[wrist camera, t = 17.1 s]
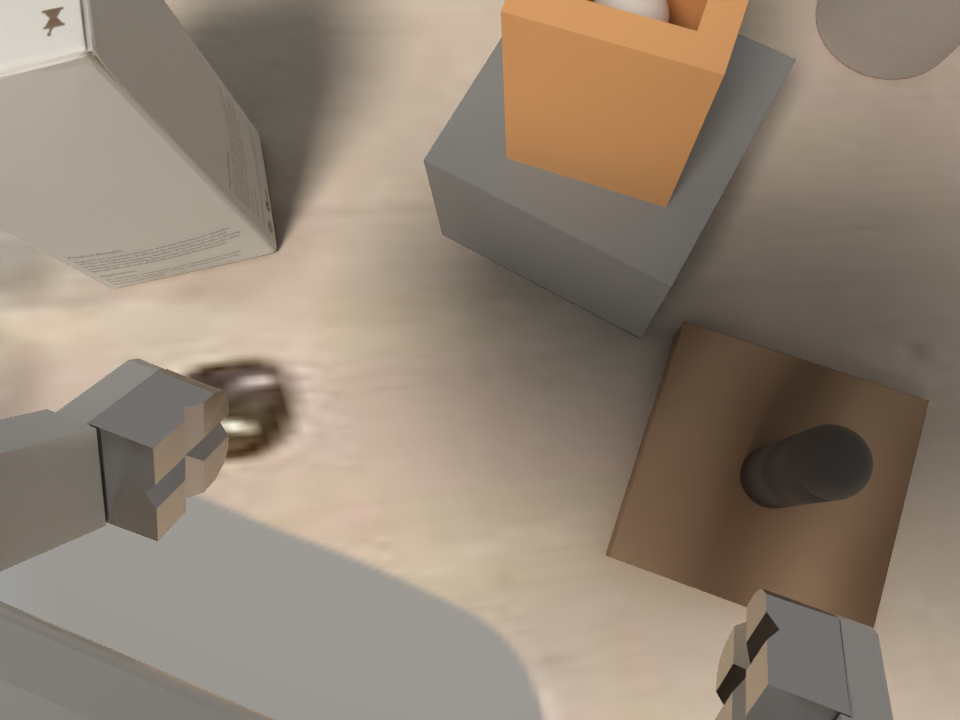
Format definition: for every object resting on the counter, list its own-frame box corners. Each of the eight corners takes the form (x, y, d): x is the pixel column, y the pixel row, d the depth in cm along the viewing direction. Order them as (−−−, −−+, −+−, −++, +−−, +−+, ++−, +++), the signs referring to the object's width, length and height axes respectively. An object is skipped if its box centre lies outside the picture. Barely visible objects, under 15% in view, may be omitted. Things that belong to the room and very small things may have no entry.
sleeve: (714, 64, 29) (787, -115, 21) (666, 207, 27) (724, 74, 20) (559, 20, 29) (573, -168, 22) (506, 158, 28) (500, 11, 20)
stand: (910, 407, 32) (1049, 359, 24) (851, 645, 30) (979, 685, 22) (677, 331, 34) (730, 259, 25) (605, 555, 32) (636, 559, 23)
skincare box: (263, 134, 37) (83, -151, 22) (282, 263, 35) (102, 53, 20) (90, 171, 37) (-211, -89, 22) (102, 301, 35) (-214, 119, 20)
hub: (742, 152, 35) (869, -71, 22) (640, 338, 34) (715, 211, 21) (549, 61, 37) (564, -196, 24) (442, 234, 35) (397, 56, 22)
